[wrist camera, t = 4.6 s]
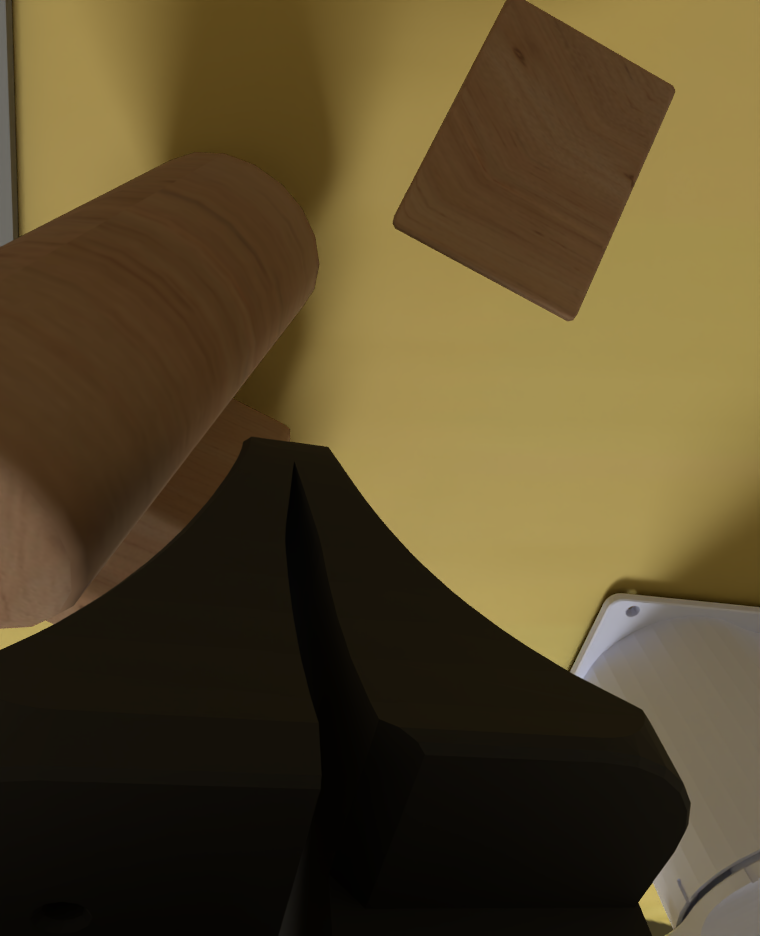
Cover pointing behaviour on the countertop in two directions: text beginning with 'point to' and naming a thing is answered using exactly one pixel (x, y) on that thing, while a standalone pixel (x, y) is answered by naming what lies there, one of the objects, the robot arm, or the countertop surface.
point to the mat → (7, 130)
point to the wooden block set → (268, 299)
